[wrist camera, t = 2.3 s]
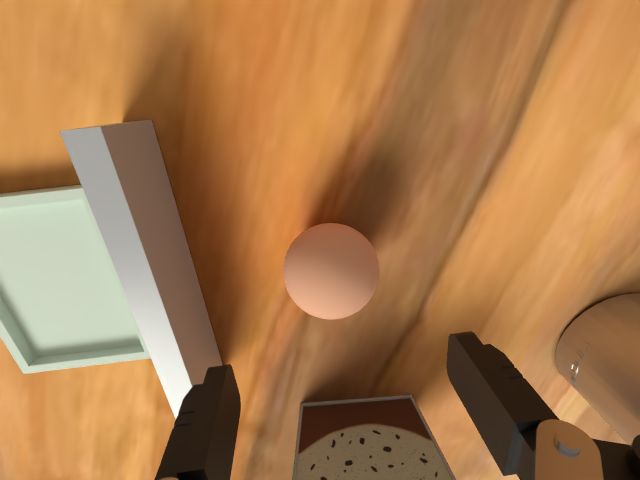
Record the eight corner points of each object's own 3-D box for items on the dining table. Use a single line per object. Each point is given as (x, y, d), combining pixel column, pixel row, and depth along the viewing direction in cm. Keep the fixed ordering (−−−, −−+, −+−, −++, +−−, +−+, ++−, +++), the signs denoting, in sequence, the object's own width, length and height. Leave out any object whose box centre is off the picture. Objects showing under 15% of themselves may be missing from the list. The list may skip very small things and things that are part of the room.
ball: (366, 205, 20) (389, 240, 15) (369, 281, 22) (391, 333, 17) (278, 215, 20) (273, 254, 15) (290, 290, 22) (289, 346, 17)
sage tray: (101, 182, 19) (89, 187, 18) (162, 345, 23) (156, 357, 22) (-59, 200, 18) (-82, 206, 17) (36, 361, 23) (23, 373, 22)
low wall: (151, 119, 17) (100, 126, 13) (224, 369, 25) (207, 431, 20) (121, 122, 17) (59, 131, 13) (203, 372, 25) (182, 434, 20)
